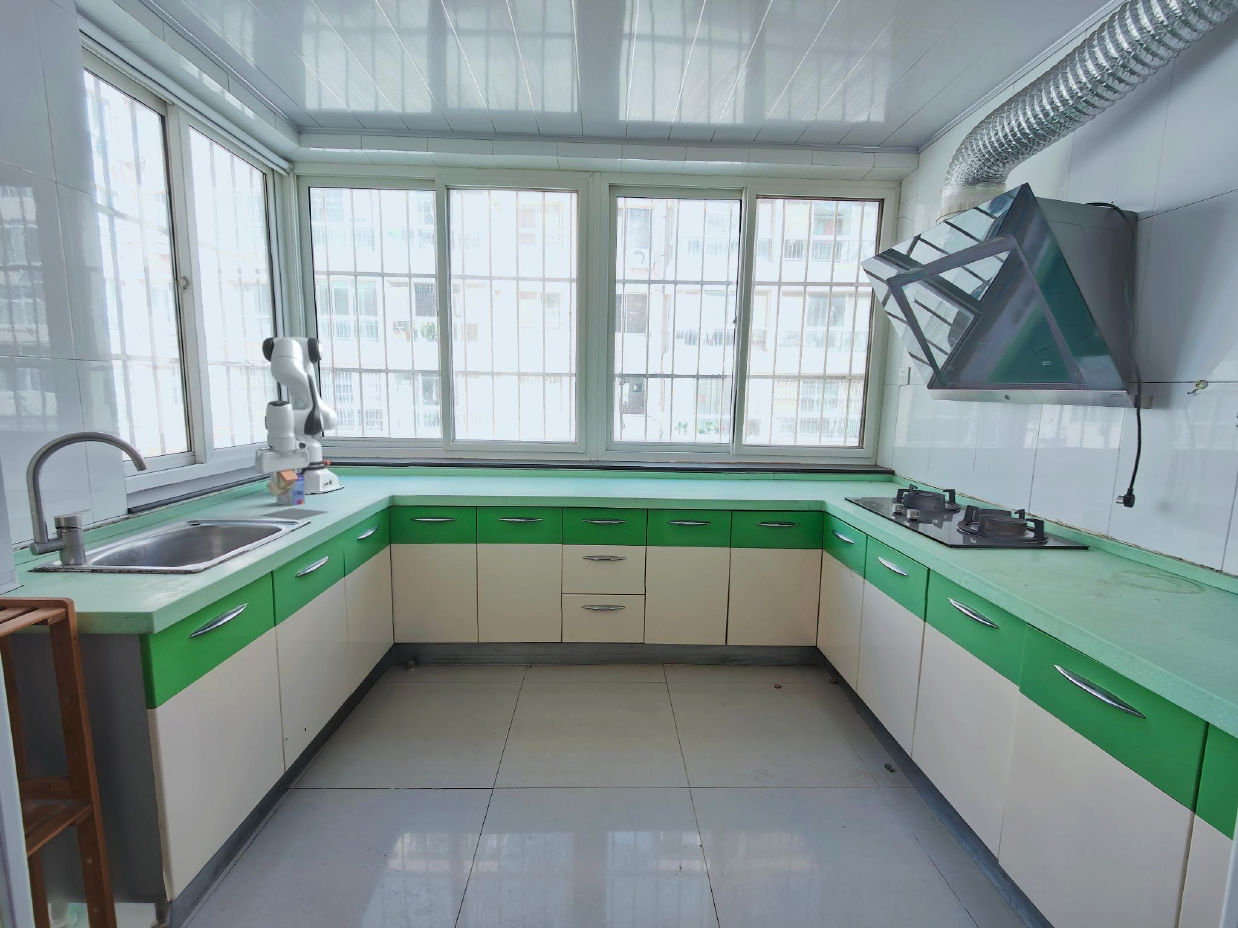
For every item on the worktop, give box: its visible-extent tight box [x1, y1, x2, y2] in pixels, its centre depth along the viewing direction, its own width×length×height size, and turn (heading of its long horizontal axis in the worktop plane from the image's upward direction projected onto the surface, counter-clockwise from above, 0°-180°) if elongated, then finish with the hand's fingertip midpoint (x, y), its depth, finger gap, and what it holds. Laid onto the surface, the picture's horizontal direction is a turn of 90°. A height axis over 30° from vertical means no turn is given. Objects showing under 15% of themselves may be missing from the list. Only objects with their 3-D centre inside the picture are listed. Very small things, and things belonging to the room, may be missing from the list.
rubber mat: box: [259, 507, 328, 521], centre depth 201 cm, size 14×18×1 cm
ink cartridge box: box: [275, 475, 306, 507], centre depth 218 cm, size 10×6×14 cm, turn 70°
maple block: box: [266, 470, 298, 497], centre depth 198 cm, size 5×5×9 cm
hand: (284, 482), depth 198 cm, fingers closed on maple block, 5 cm apart
